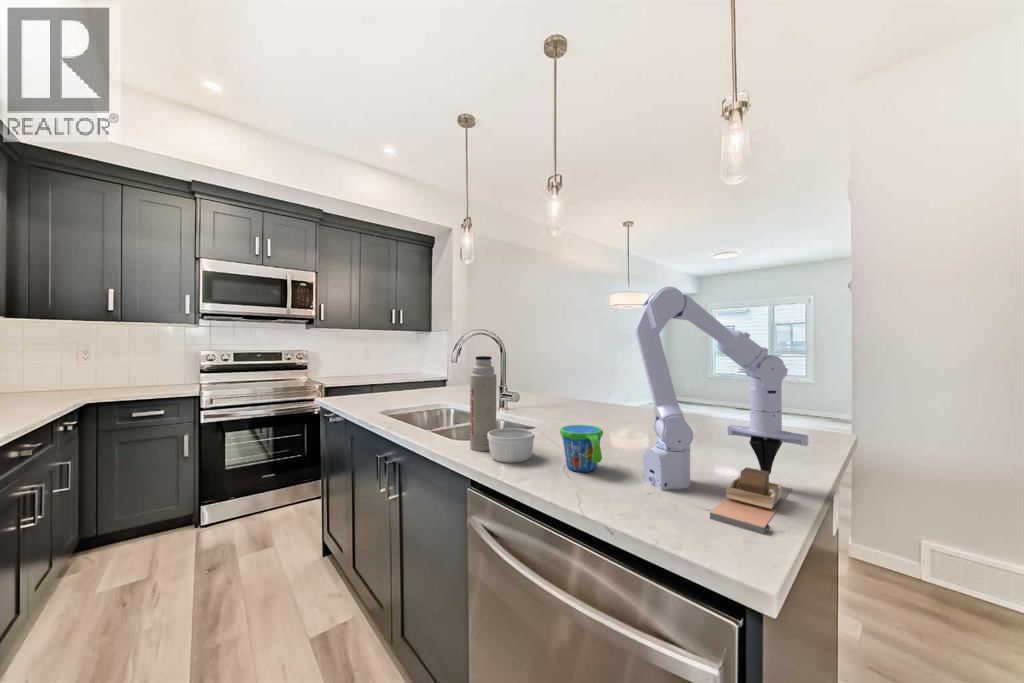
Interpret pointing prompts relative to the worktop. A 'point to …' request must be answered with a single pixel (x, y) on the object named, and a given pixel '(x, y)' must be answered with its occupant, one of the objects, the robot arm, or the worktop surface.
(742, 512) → the track
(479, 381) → the thermos bottle
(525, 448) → the ramekin
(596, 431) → the snack cup
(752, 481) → the block
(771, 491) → the shallow wooden tray
